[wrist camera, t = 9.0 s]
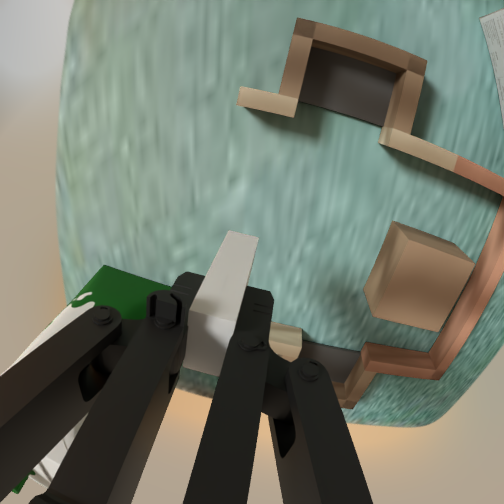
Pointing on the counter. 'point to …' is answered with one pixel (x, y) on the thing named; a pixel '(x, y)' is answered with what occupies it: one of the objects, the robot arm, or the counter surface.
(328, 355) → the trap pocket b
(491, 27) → the light bulb box
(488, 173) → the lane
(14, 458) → the robot arm
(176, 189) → the counter surface
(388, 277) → the block
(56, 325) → the milk carton
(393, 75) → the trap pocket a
